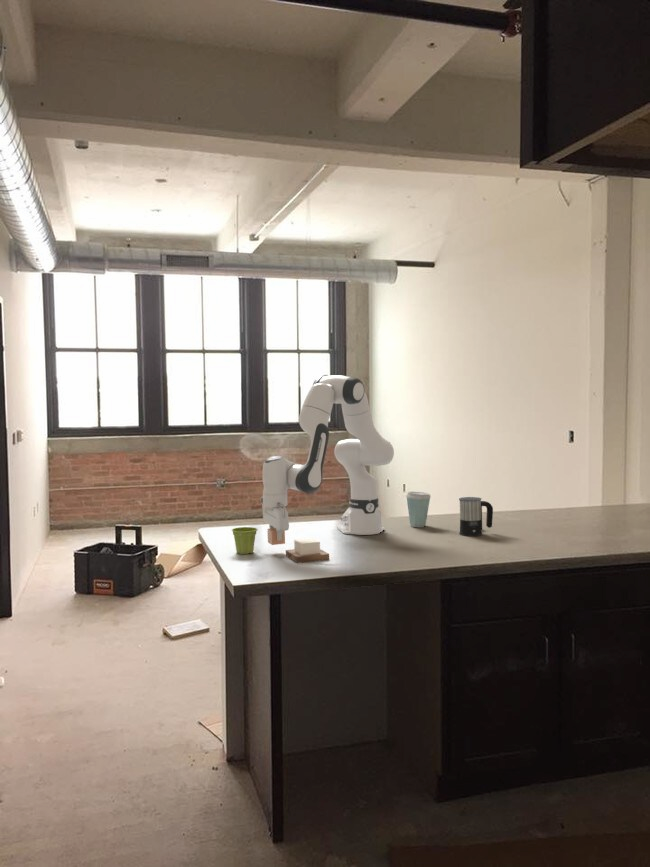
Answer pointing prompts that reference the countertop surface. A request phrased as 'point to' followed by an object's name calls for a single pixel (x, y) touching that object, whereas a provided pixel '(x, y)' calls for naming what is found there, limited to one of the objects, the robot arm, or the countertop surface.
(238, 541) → the plant pot
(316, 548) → the cream block
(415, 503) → the disposable coffee cup
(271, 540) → the terracotta cube
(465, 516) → the milk frother
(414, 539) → the countertop surface
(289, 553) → the walnut base
